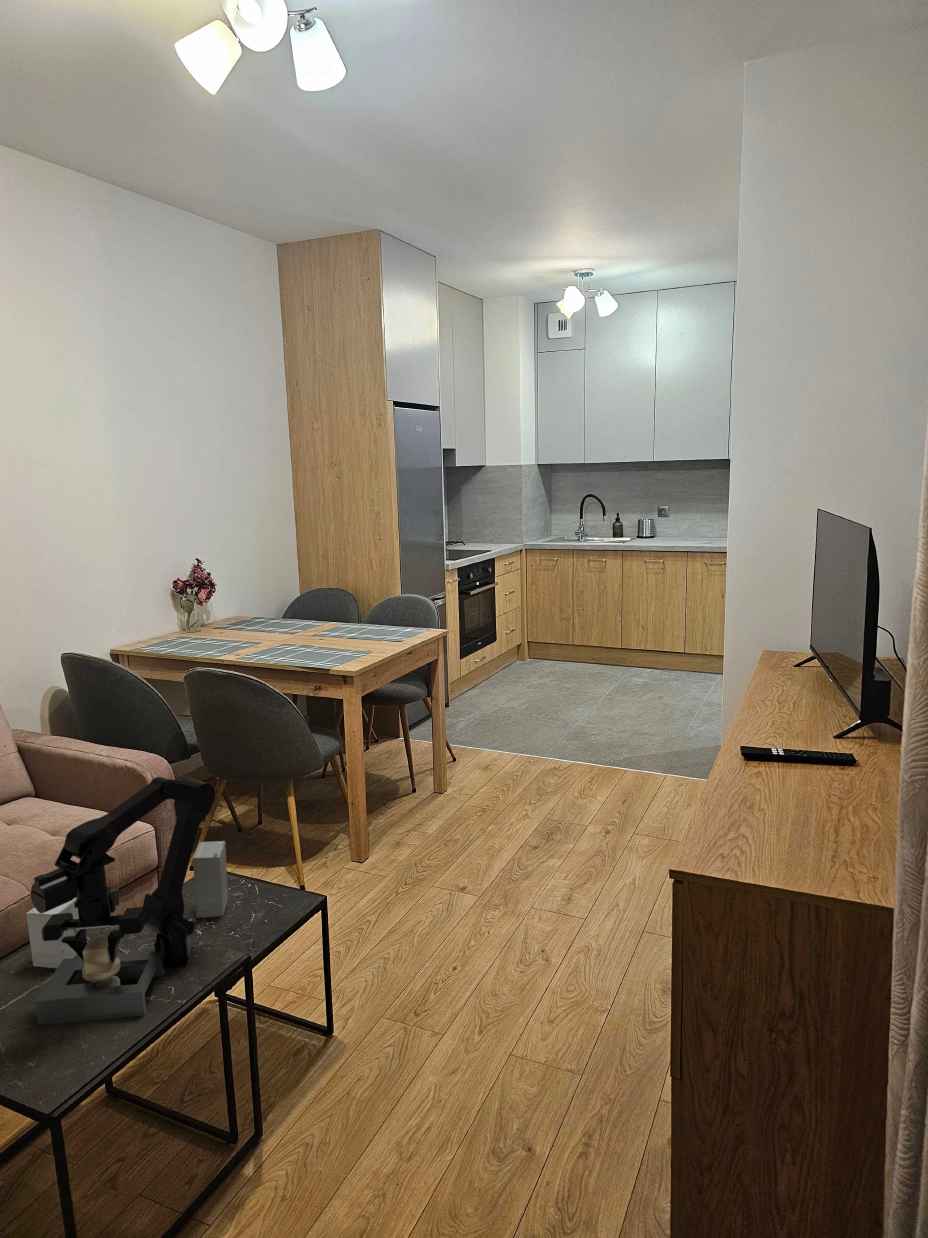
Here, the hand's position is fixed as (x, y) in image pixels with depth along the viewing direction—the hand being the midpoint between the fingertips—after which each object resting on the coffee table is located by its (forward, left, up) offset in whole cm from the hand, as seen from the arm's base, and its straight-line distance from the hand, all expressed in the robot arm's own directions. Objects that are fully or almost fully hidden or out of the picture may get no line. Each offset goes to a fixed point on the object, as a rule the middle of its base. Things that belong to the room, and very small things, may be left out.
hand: (100, 962), depth 165 cm
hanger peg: (0, 0, -6) cm, 6 cm away
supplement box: (+15, -16, -8) cm, 24 cm away
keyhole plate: (0, 0, -8) cm, 8 cm away
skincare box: (-15, -32, -8) cm, 36 cm away
